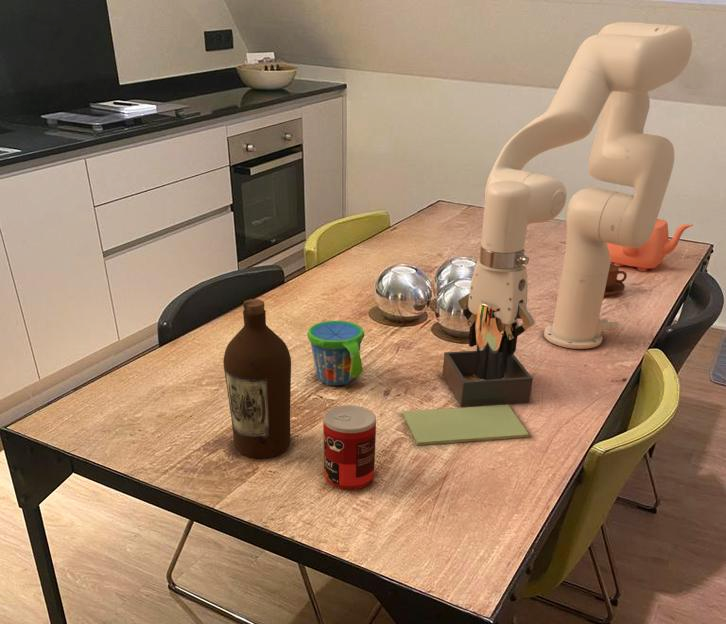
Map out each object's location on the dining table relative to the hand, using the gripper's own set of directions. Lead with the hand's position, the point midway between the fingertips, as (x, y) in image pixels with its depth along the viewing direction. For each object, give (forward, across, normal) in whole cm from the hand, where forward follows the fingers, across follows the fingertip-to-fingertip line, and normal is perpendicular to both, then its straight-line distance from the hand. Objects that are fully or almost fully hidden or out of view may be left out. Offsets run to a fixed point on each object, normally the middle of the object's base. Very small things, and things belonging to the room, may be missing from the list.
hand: (491, 349), depth 144 cm
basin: (+8, 0, +1) cm, 8 cm away
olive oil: (+7, +15, +45) cm, 48 cm away
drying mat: (+8, -6, +16) cm, 18 cm away
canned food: (+7, -2, +42) cm, 43 cm away
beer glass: (+5, 0, 0) cm, 5 cm away
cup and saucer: (+10, +10, -66) cm, 67 cm away
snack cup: (+8, +24, +18) cm, 31 cm away
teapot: (+11, +13, -92) cm, 94 cm away
